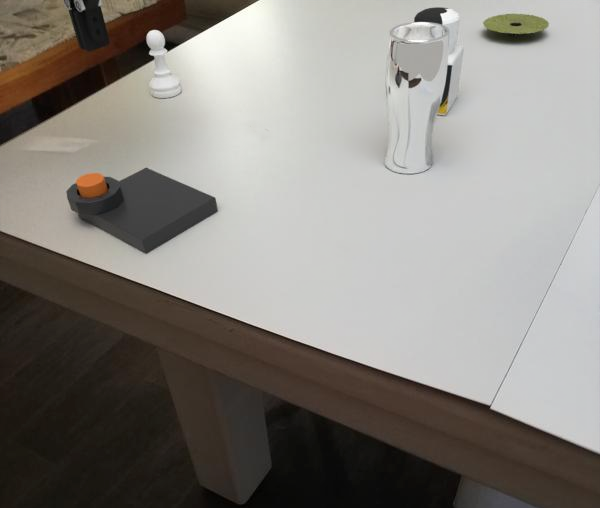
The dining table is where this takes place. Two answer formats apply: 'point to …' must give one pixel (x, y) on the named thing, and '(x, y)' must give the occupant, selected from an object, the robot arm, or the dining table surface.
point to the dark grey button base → (144, 208)
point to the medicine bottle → (454, 54)
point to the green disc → (516, 23)
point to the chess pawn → (161, 68)
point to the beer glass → (414, 92)
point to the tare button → (91, 185)
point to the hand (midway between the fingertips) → (95, 46)
